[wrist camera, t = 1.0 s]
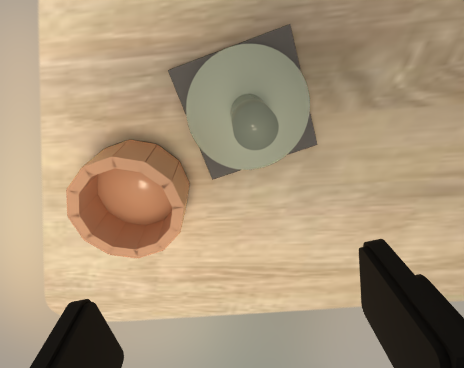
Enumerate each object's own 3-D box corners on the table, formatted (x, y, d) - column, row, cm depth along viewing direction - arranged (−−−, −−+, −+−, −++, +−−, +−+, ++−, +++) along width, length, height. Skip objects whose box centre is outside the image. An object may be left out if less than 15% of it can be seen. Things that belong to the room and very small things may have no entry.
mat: (288, 24, 24) (290, 23, 24) (315, 143, 29) (317, 144, 28) (168, 70, 25) (167, 70, 25) (212, 177, 30) (212, 179, 29)
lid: (290, 24, 24) (316, 13, 17) (317, 144, 28) (346, 172, 22) (167, 70, 25) (149, 76, 19) (212, 179, 29) (210, 215, 23)
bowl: (164, 127, 28) (153, 141, 23) (202, 212, 32) (199, 239, 27) (71, 160, 29) (43, 180, 24) (119, 238, 33) (103, 269, 28)
